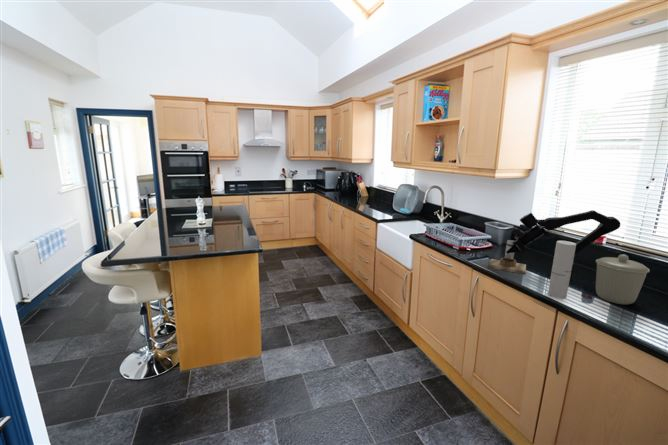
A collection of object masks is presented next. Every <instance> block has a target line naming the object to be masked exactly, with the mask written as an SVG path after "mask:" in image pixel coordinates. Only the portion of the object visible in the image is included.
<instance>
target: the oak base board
mask: <svg viewBox="0 0 668 445" xmlns="http://www.w3.org/2000/svg"><path fill="white" fill-rule="evenodd" d="M488 269H494V270H499V271H503V272H512V273H515V274H516V273H517V274H522V275H526V271H527V263H526V264H525V263H520V262H516V267H505V266H502V265H500V259H494V258H491V259H490V262H489V265H488Z"/></svg>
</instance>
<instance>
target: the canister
mask: <svg viewBox="0 0 668 445" xmlns="http://www.w3.org/2000/svg"><path fill="white" fill-rule="evenodd" d="M595 263H596V273H595V274H596V275H595V291H596V295H597V296H598V297H599V298H600V299H601V300H604V301H607V302H609V303H614V304H616V305H631V304H634V303H635V301H636V300H637V298H638V296H639V294H640V291H641V289H642V287H643V284H644V281H645V279H646V277H647V274H648V273H650V268H648V267H647V265H646V266H645V265H644V264H643V263H640V262H638V261H635V260H630V259H629V256H628V255H627V254H619V255H618V256H617V257H613V256H611V257H610V256H605V257H600V258H597V259H595Z"/></svg>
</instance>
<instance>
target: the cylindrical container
mask: <svg viewBox="0 0 668 445" xmlns="http://www.w3.org/2000/svg"><path fill="white" fill-rule="evenodd" d="M555 243H556V244H555V248H554V256H553V260H552V266H551V273H550V280H549V284H548V289H547V290H548V292H547V294H548V296H550V297H552V296H553V298H556V299H561V300H562V299H567V296H568V291H569V284H570V281H571V280H570V275H571V270H572V264H573V263H574V258H575V257H574V254H575V248H576V243H577V242H572V241H567V240H557V241H556V242H555Z"/></svg>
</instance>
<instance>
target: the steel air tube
mask: <svg viewBox="0 0 668 445" xmlns="http://www.w3.org/2000/svg"><path fill="white" fill-rule="evenodd" d="M513 243H514V240H511V239H508V240H507V241H506V243H505V244H506V246H505V251H504V252H505V254H504V257H503V258H504V260H505V261H510V262H513V259H514V256H515V252H514V253H508V254H507V253H506V251H507V250H509V249H510V248H511V247H512V246H513Z"/></svg>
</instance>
